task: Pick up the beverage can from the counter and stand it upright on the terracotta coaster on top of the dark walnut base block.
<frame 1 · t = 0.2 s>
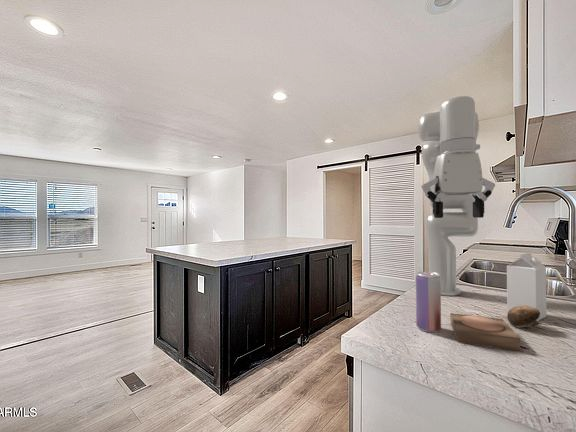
hand: (458, 217, 68), 30 cm above the countertop, fingers open, 9 cm apart
milk carton: (526, 316, 82), on the countertop
walnut base: (481, 335, 69), on the countertop
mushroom: (523, 327, 74), on the countertop
beverage can: (428, 329, 74), on the countertop
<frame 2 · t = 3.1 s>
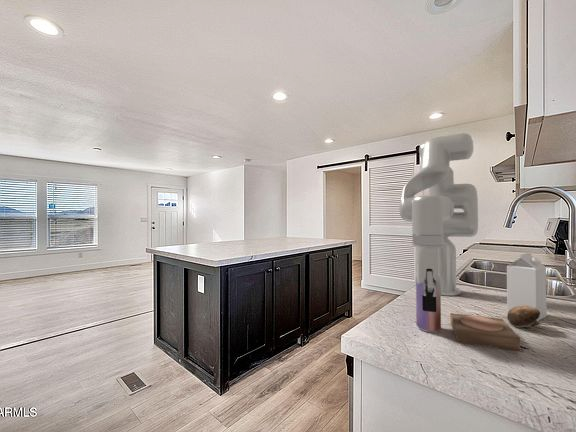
hand: (428, 306, 74), 6 cm above the countertop, fingers closed on beverage can, 6 cm apart
beverage can: (428, 329, 74), on the countertop, touching gripper
everything else where it was.
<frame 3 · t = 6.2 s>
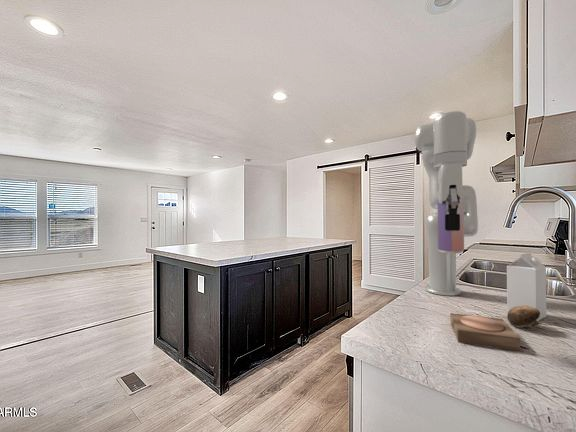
hand: (450, 228, 71), 27 cm above the countertop, fingers closed on beverage can, 6 cm apart
beverage can: (450, 252, 72), point 21 cm above the countertop, touching gripper
everything else where it was.
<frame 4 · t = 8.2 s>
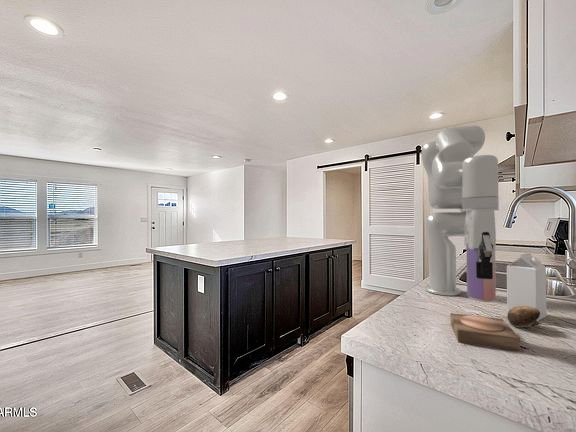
hand: (480, 274, 69), 16 cm above the countertop, fingers closed on beverage can, 6 cm apart
beverage can: (481, 299, 69), point 9 cm above the countertop, touching gripper
everything else where it was.
when the fingers open (11 cm above the countertop, at t = 9.6 s): beverage can drops 1 cm, resting on walnut base.
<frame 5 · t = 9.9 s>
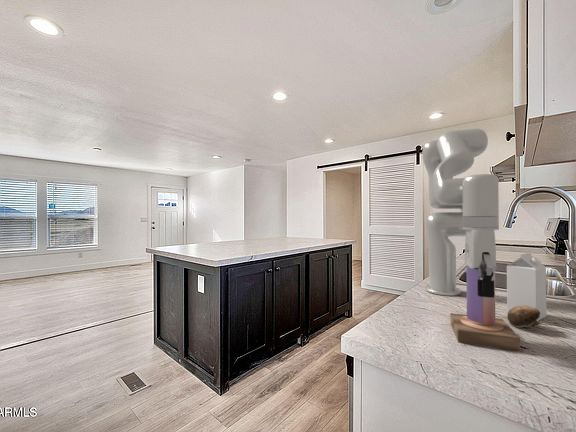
hand: (480, 291, 69), 11 cm above the countertop, fingers open, 8 cm apart
beverage can: (480, 322, 69), point 3 cm above the countertop, touching walnut base
everything else where it was.
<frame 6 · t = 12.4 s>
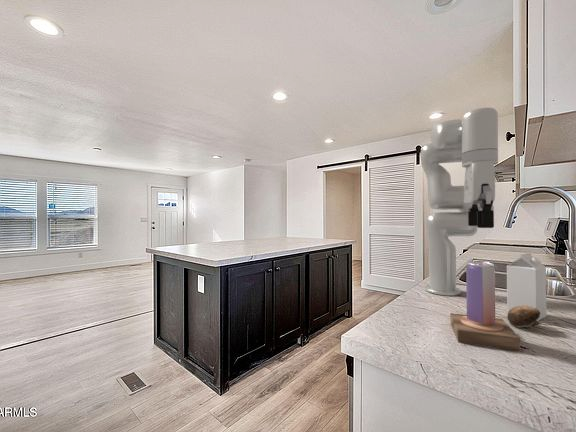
hand: (480, 226, 69), 28 cm above the countertop, fingers open, 9 cm apart
nothing on the countertop moved.
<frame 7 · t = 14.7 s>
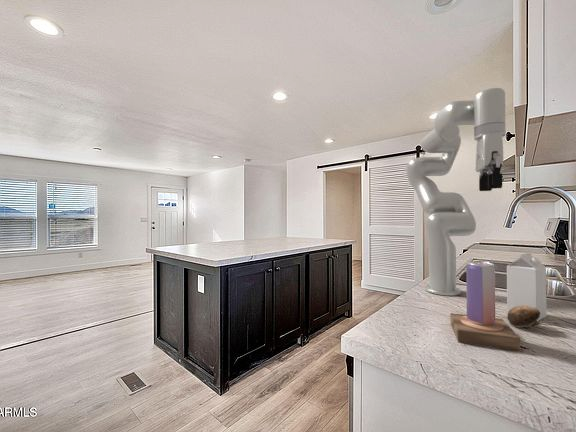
hand: (490, 189, 81), 38 cm above the countertop, fingers open, 9 cm apart
nothing on the countertop moved.
at the end: beverage can 0.3 cm off-centre on the walnut base, point 3.3 cm above the walnut base's base; beverage can tilted 0°; the gripper is holding nothing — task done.
